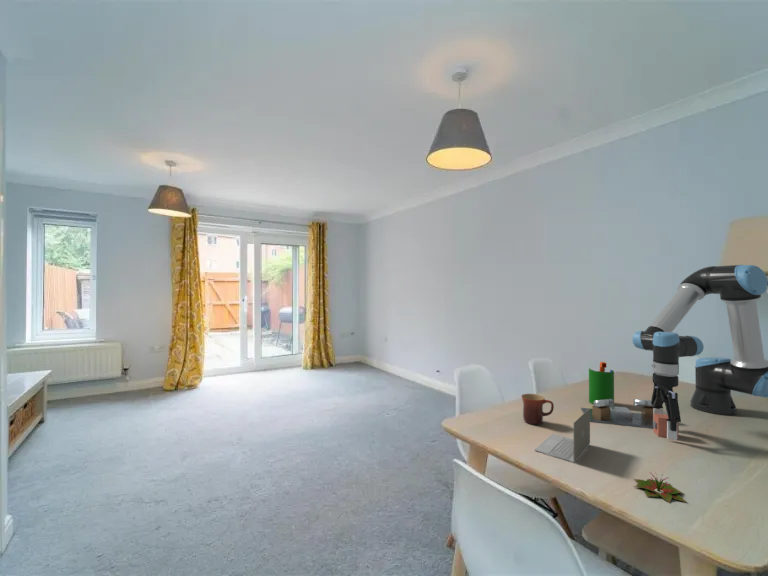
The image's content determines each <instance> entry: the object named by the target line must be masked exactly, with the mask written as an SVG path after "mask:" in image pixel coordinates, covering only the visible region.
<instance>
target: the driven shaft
mask: <svg viewBox="0 0 768 576" xmlns="http://www.w3.org/2000/svg"><path fill="white" fill-rule="evenodd" d="M613 405H614V406H615V399H614V400H613V399H604V400H595V401H594V404H593V405H592V406H591V409H592V417H594V418H597V419H599V420H605V419H610V407H607V406H613Z"/></svg>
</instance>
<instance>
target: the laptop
mask: <svg viewBox="0 0 768 576" xmlns="http://www.w3.org/2000/svg"><path fill="white" fill-rule="evenodd" d="M590 409H591V408H590ZM590 409H588V410H587V411H586V412H585V413H582V414H581V416H580V417H578V418H577V419H576V420H575V421H574V422H573V438H571V437H567V436H564V435H560V434H556V433H552V434H551V435H549V436H548V437H547V438H545V440H544V441H542V442H541V443H540V444H539V445H538V446H537V447H535V448H534V451H535V452H538V453H541V454H543V455H547V456H550V457H553V458H556V459H559V460H563V461H565V462H569V463H573V464H575V463H576V462H577V460H579V458H580V457H581V456H582V455H583V454H584V452H585V451H586V450H587V449H588V447H589V446H590V443H591V422H590Z"/></svg>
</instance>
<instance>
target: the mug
mask: <svg viewBox="0 0 768 576" xmlns="http://www.w3.org/2000/svg"><path fill="white" fill-rule="evenodd" d="M545 398H546V397H544V396H542V395H540V394H537V393H524V394H521V399H522V403H523V404H522V407H523V408H522V411H523V412H522V414H523V415H522V417H523V420H524V422H525V423H527V424H529V425H534V426H535V425H536V426H538V425H541V424H542V423H543V421H544V417H549V416H550V415H551V414H553V411H554V409H555V408H554V406H555V405H554V402H553V401H552V400H549V399H545ZM547 403H549V404H550V410H549V411H548V412H544V410H543V409H544V407H543V406H544V404H547Z"/></svg>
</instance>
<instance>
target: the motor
mask: <svg viewBox="0 0 768 576" xmlns="http://www.w3.org/2000/svg"><path fill="white" fill-rule="evenodd" d="M605 368H606V369H607V362H606V361H600V362H599V370H598V371H597V370H594V369H591V368H588V402H589V403H590V404H592V405H594V401H595V400H604V399H613V400H614V401H615V371H614V369H610V371H606V369H605ZM613 406H615V404H614V405H613ZM607 407H609V408H610V406H607Z"/></svg>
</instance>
